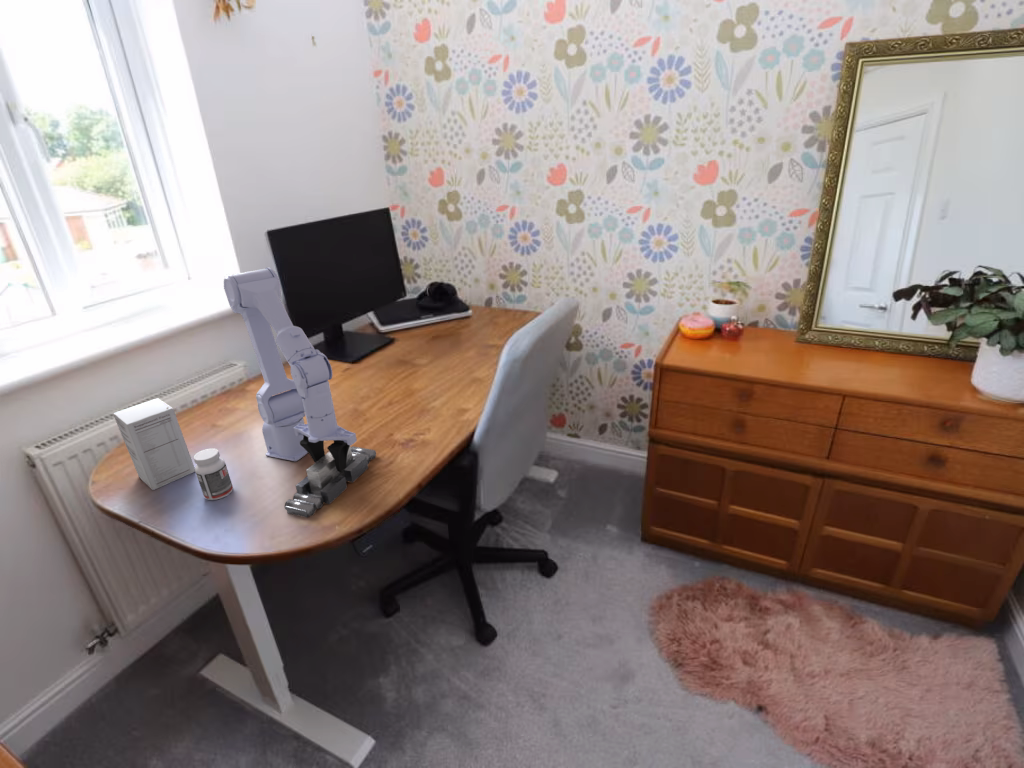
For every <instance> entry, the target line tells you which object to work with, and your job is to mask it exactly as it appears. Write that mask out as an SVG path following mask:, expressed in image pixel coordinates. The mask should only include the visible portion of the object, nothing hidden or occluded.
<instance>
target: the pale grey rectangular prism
mask: <svg viewBox="0 0 1024 768" xmlns="http://www.w3.org/2000/svg"><path fill="white" fill-rule="evenodd" d="M351 447H352V446H350V447H349V450H348V453H347V460H346V468H347V467H348V466H349V465H350V464H351V463H352V462H353V457H352V452H351ZM346 468H345V469H346ZM305 470H306V475H307V476H308V480H309V484H310V488H311V492H315V493H319V494H321V493H320V491H321V490H322V489H323V488H324V487H325V486H326V485H327V484H329V483H330V482H331V481H332V480H333V479H334V478H335V477H336V476H338V475H341V476H344V475H345V473H344V469H343V470H342V471H341V472H338V471H337V469H336V465H335V461H334V459H333V456H332V454H331V453H330V451H329V450H328V452H327V453H325V455H324V456H323V457H322V458H320V459H319V460H318V461H317V462H314V463H313V464H312V465H310V466H309V467H308V468H306V469H305ZM307 476H306V477H307Z"/></svg>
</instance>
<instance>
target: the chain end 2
mask: <svg viewBox="0 0 1024 768" xmlns="http://www.w3.org/2000/svg"><path fill="white" fill-rule="evenodd" d="M350 447H351V452H352V457H353V462H352V463H351V464H350V465H349V466H348V467H347V468H346V469H344V473H345V475H344V476H345V479H346V483H347V482H349V483H353V484H354V482H355V481H356V480H357V479H358V478H360V477H361V475H362V474H364V473H365V472H366V471H367V470H368V469H369V464H370V462H371V460H375V459H376V457H377V452H376V450H375V449H371V448H364V447H359V446H354V445H353V446H352V445H351V446H350Z"/></svg>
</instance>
